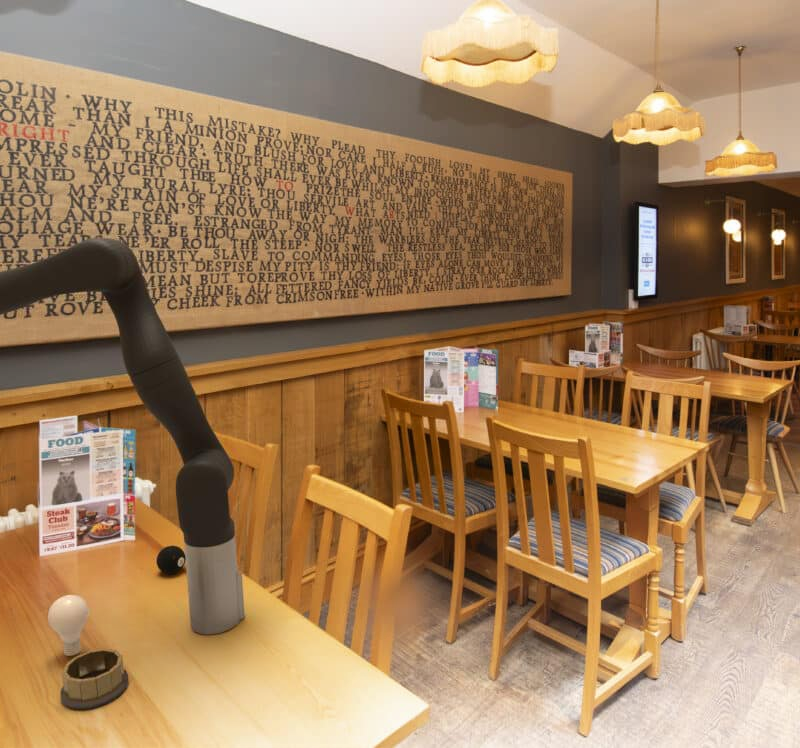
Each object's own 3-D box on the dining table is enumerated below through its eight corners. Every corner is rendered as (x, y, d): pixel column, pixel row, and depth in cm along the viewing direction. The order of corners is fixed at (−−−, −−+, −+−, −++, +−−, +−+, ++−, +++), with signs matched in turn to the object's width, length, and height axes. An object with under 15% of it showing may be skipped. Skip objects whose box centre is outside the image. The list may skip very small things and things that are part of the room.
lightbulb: (76, 667, 112) (70, 608, 110) (44, 663, 114) (37, 604, 112) (100, 646, 118) (94, 589, 117) (69, 642, 120) (63, 586, 118)
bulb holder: (114, 663, 113) (111, 639, 113) (139, 688, 106) (136, 663, 106) (51, 690, 106) (48, 665, 106) (74, 719, 99) (71, 692, 99)
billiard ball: (172, 580, 143) (170, 554, 142) (152, 575, 145) (149, 550, 144) (192, 568, 148) (190, 544, 147) (171, 564, 151) (169, 539, 150)
